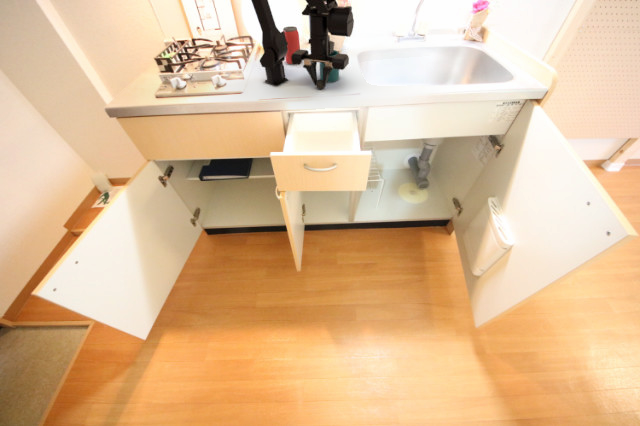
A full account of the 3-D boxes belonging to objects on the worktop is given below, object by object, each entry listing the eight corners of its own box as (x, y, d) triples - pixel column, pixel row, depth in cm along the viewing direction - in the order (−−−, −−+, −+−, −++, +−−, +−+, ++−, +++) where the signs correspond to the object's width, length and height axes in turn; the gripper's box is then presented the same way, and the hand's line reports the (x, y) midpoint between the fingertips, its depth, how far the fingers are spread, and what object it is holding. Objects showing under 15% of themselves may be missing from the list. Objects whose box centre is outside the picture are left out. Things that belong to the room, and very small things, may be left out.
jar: (330, 83, 89) (331, 58, 82) (316, 79, 92) (315, 54, 85) (342, 77, 92) (343, 52, 86) (327, 73, 95) (327, 48, 89)
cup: (349, 54, 108) (350, 27, 100) (323, 58, 105) (323, 32, 98) (337, 46, 115) (338, 20, 108) (314, 50, 112) (312, 24, 105)
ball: (321, 91, 85) (320, 82, 83) (314, 89, 87) (313, 80, 84) (326, 88, 87) (326, 79, 84) (319, 86, 88) (319, 76, 86)
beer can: (284, 60, 105) (279, 27, 96) (298, 58, 106) (295, 25, 97) (288, 66, 101) (284, 31, 92) (303, 63, 102) (300, 29, 93)
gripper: (355, 28, 76) (351, 80, 88) (302, 24, 81) (305, 74, 93) (344, 39, 70) (342, 93, 82) (287, 34, 74) (293, 86, 87)
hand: (320, 85), depth 86 cm, fingers closed on ball, 3 cm apart
